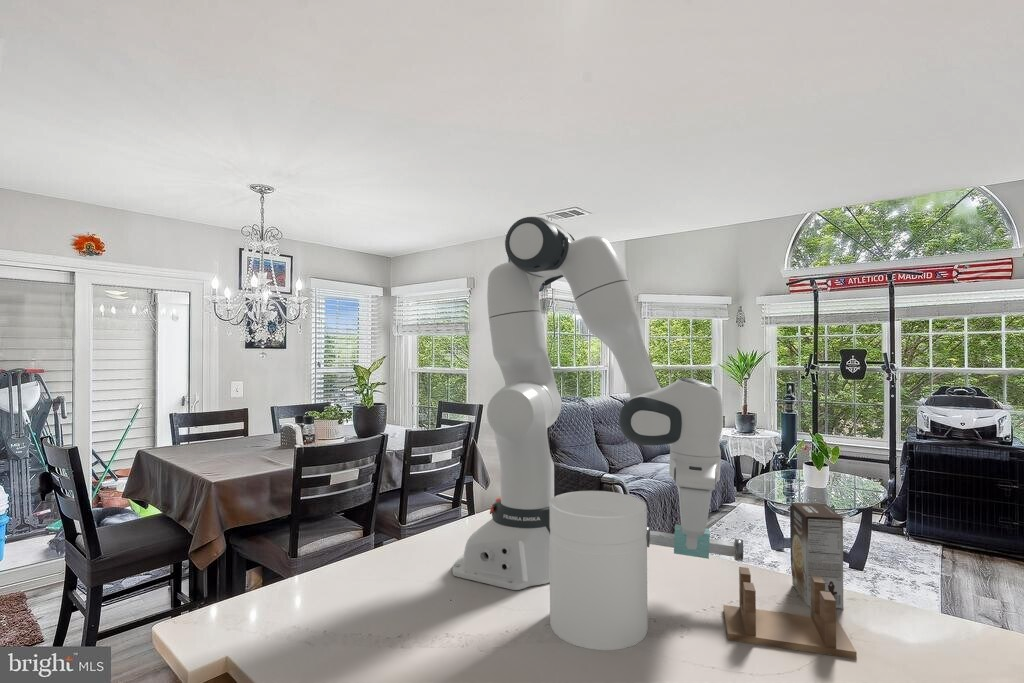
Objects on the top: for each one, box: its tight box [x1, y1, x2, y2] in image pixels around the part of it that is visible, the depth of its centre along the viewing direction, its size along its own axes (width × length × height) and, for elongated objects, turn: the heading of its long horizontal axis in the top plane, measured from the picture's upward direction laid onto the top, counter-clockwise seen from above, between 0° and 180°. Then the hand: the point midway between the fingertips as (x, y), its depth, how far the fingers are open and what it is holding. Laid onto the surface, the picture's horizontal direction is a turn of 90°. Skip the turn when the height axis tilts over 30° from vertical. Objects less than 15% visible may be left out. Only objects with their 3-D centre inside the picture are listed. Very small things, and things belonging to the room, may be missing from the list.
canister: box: [549, 490, 649, 652], centre depth 90 cm, size 16×16×20 cm
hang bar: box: [646, 523, 744, 562], centre depth 99 cm, size 17×4×4 cm, turn 73°
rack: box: [723, 566, 858, 659], centre depth 87 cm, size 18×10×8 cm, turn 73°
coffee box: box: [790, 502, 844, 609], centre depth 100 cm, size 9×6×16 cm
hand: (691, 543), depth 99 cm, fingers closed on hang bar, 3 cm apart
